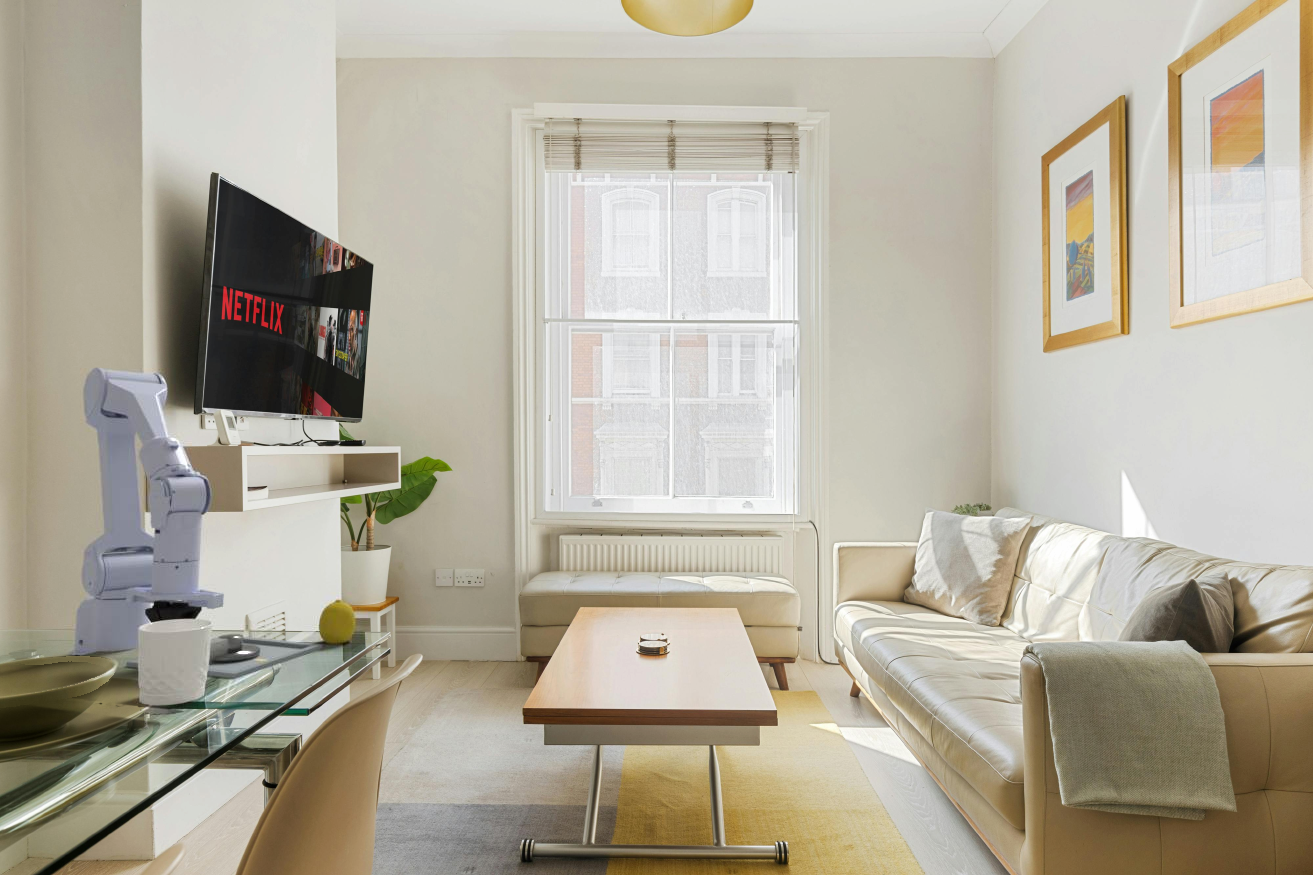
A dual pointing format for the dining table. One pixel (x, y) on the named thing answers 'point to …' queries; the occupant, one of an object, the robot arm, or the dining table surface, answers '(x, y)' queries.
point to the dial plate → (257, 657)
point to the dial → (231, 649)
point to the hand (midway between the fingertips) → (171, 655)
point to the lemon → (337, 623)
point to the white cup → (173, 662)
